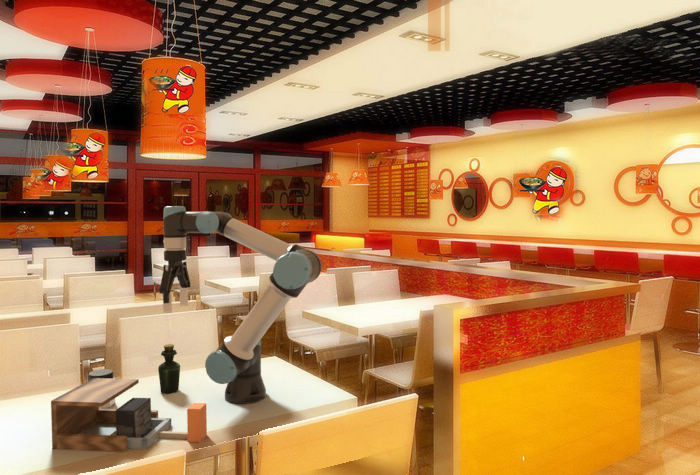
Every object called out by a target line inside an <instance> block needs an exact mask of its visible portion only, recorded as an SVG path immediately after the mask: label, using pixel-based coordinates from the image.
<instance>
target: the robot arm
mask: <svg viewBox="0 0 700 475" xmlns="http://www.w3.org/2000/svg"><path fill="white" fill-rule="evenodd" d="M162 220H163V240H162V243H163V248H164V249H165V250H164V251H163V260H164V261H165V262H168V263H167V264H163V271H162V276H161V280H160V285H159V294H162V307H163V309H162V311H163V313H173V310H172V309H173V306H172V304H173V303H172V298H173V297H172V293H171V291H172V288H173V285H174V282H175V279H177V280H178V282H179V285H180V288H179V306H184V307H185V306H186V307H187V306H189V298H188V297H189V291H188V290H189V288H191V280H190V276H189V271H188V267H187V264H188V263H187V261H186V260H187V250H186V248H187V234H190V233H191V234H212V233H216V234H219V235H221V236H223V237H224V238H225V237H226V238H228V239H229V240H232V241H233V242H235V243H238V244H240V245H242V246H244V247H246V248H248V249H251V250H252V251H255V252H256V253H259V254H261V255H263V256H265V257H267V258H269V259H272V260H273V261H275V263H274V266H273V269H272V272H271V274H270V276H269V278H268V279H269V285H268V286H267V287H266V288H265V290H264V292H263V293H262V294H261V296H260V297H259V298H258V300H257V301H256V303H255V304H254V305H253V307H252V308H251V309H250V311H249V312H248V314H247V315H246V316H245V318H244V319H243V320H242V322H241V323H240V325H239V326H238V327H237V329H236V330H235V332H234V333H233V334H232V335H227V336H226V337H225V338H224V339H223V341H222V342H221V343H220V345H219V346H218V347H217V348H216V350H214V351H211V353H210V354H209V355H208V356H207V357H206V358H205V363H204V367H205V372H206V374H207V376H208V377H209V379H211V380H212V381H213V382H215V383H216V384H220V385H226V387H225V390H224V399H225V401H227V402H229V403H233V404H249V403H250V404H252V403H256V402H258V400H259V401H261V400H263V399H264V398H265V397H266V396H267V394H266V393H267V389H266V386H265V383H264V379H263V378H262V344H261V342H262V341H261V340H262V338H263V337H264V335H265V334H266V333H267V331H268V330H269V328H270V327H271V326H272V325H273V323H274V322H275V320H276V319H277V317H278V316H280V314H281V312H282V311H283V310H284V308H285V307H286V306H287V304H288V303H289V301H291V299H296V298H298V297H299V295H300V294H301V293H302V292H303V290H304V289H305V287H306V286H307V285H308V284H310V283H312V282H314V281H315V280H317V279H318V278H319V276H320V275H321V274H322V273H321V272H322V269H323V264H322V260H321V258H320V257H319V255H318V254H317V253H316V252H315V251H313V250H311V249H308V248H306V247H303V246H301V245H299V244H297V243H294V244H290V243H288V242H286V241H283V240H281V239H279V238H277V237H274V236H273V235H271V234H268V233H267V232H264V231H262V230H259V229H258V228H255V227H254V226H251V225H249V224H247V223H244V222H242V221H241V220H238V219H236V218H234V217H232V215H231V214H230V213H228V212H224V211H206V210H204V211H187V210H186V207H185V206H183V205H172V206H170V205H169V206H168V205H167V206H164V208H163V217H162ZM265 395H266V396H265ZM262 398H263V399H262ZM260 399H261V400H260ZM255 401H256V402H255Z"/></svg>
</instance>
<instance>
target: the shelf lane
mask: <svg viewBox="0 0 700 475" xmlns="http://www.w3.org/2000/svg"><path fill="white" fill-rule="evenodd" d="M139 381H140V380H139V378H137V379H136V378H115V379H110V378H93V379H91V380H89V381H88V380H87V381H86V382H84V383H82V384H79V385H78V386H75V388H73V389H70V390H69V391H67V392H65V393H63V394H61V395H59V396H57V397H56V398H54V399H52V400H51V401H50V406H51V407H50V412H51V413H50V414H51V415H50V418H51V448H52V450H72V451H73V450H74V451H91V452H92V451H94V452H95V451H96V452H114V453H115V452H116V453H117V452H118V453H119V452H121V453H122V452H123V453H125V452H126V451H127V450H128V448H127V436H113V435H111V434H109V435H108V434H107V435H106V434H89V433H88V434H85V433H83V432H85V431H86V430H87V429H88V428H90V427H92V426H93V425H95V424H96V423H111V424H112V423H114V424H116V410H117V409H118V408H103V409H100V408H99V407H102V406H104V405H105V404H107V403H108V402H110V401H111V400H113V399H114V398H115V399H116V398H117V397H119V396H121V395H122V394H124V393H126V392H127V391H129V390H130V389H132V388H133V387H135V386H136V385H138V384H139ZM151 418H159V410H158V409H156V410H155V409H151Z"/></svg>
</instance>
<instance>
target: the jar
mask: <svg viewBox="0 0 700 475" xmlns="http://www.w3.org/2000/svg"><path fill="white" fill-rule="evenodd" d="M87 375H88V378H87V381H89V380H91V379H93V378H110V379H116V378H115V376H114V370H113V369H111V368H103V369H95V370H92V371H90V372H88V374H87ZM115 403H116V398H114V399H113V400H111V401H110V402H108V403H107V404H105V405H104V406H102V407H99V408H100V409H109V408H111V407H112V406H113V405H114V404H115Z"/></svg>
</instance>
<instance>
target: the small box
mask: <svg viewBox="0 0 700 475" xmlns="http://www.w3.org/2000/svg"><path fill="white" fill-rule="evenodd" d="M151 398H152V397H132V398H130V399H129V400H128V401H126V402H125V403H124V404H122V405H121V406H119V407H118V408H116V409H117V410H116V423H115V426H116V427H115V428H116V429H115V431H116V436H127V437H133V438H144V437H145V436H147V435H148V434H149V433H150V432H151V431H152V430H153V427H152V423H151V410H152V401H151V400H152V399H151Z"/></svg>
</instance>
